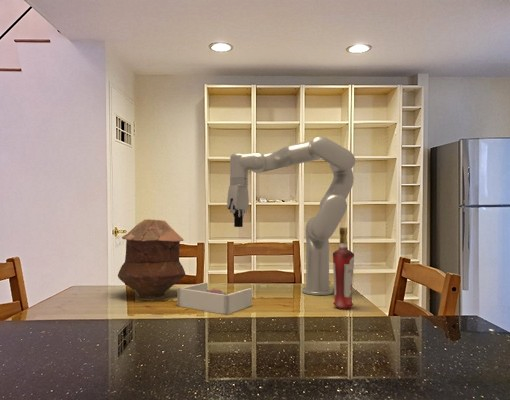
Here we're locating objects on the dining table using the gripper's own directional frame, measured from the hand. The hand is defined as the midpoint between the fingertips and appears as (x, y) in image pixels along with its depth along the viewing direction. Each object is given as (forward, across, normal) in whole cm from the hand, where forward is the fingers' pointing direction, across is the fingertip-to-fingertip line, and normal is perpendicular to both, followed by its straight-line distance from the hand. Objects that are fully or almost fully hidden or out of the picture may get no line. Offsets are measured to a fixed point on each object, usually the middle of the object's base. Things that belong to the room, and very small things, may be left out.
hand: (238, 226), depth 163 cm
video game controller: (+27, +26, +7) cm, 38 cm away
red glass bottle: (+27, +2, +46) cm, 54 cm away
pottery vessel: (+27, +24, -25) cm, 44 cm away
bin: (+27, +24, +7) cm, 37 cm away
